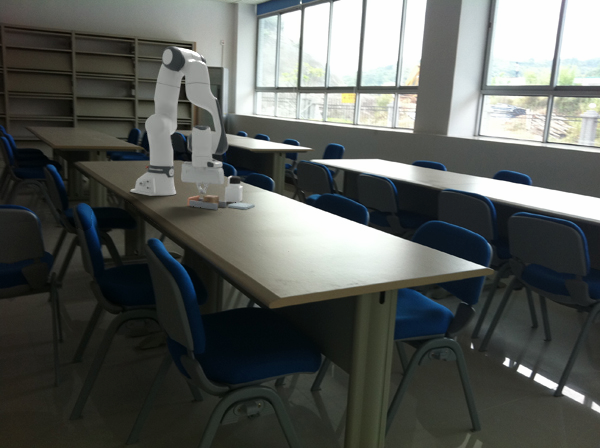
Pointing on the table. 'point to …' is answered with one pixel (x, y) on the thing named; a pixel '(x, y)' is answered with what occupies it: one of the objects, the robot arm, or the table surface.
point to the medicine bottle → (233, 189)
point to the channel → (204, 203)
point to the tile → (241, 205)
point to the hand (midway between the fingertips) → (202, 193)
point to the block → (211, 199)
